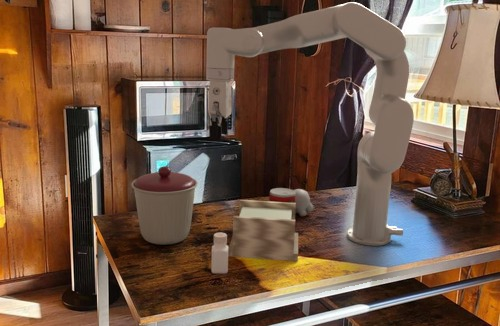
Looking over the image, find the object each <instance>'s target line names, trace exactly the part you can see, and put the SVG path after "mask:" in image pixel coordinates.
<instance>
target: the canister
mask: <svg viewBox="0 0 500 326" xmlns="http://www.w3.org/2000/svg"><path fill="white" fill-rule="evenodd" d="M198 184H199V183H198V181H197V180H196V179H194V178H193V177H192V176H190V175H188V174H185V173H181V172H175V171H174V172H173V171H172V169H171V168H170V167H169V166H166V165H163V166H161V167H159V168H158V171H157V172H151V173H146V174H143V175H141V176H139V177H137V178H136V179H134V180H133V181H132V182H131V184H130V185H131V187H132V189H133V190H134V196H135V197H134V198H135V202H136V203H135V205H136V210H137V211H136V212H137V217H138V224H139V230H140V231H139V232H140V233H141V236H142V238H143V239H144V241H146V242H148V243H150V244H155V245H161V246H162V245H163V246H164V245H166V246H167V245H173V244H174V245H175V244H177V243H181V242H182V241H184V240H185V239H186V238H187V237H188V236H189V233H190V230H191V226H192V217H193V211H194V210H193V209H194V201H195V192H196V188H197V187H198Z"/></svg>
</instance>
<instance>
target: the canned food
mask: <svg viewBox="0 0 500 326" xmlns="http://www.w3.org/2000/svg"><path fill="white" fill-rule="evenodd" d="M294 190H295V189H292V188H286V187H285V188H284V187H276V188H272V189H270V191H269V200H268V201H271V202H287V203H295V198H296V194H295V193H296V192H295V191H294Z"/></svg>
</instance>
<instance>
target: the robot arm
mask: <svg viewBox="0 0 500 326" xmlns="http://www.w3.org/2000/svg"><path fill="white" fill-rule="evenodd" d="M346 38H347V39H349V40H351V41H353V42H354V43H356V44H357V45H359V46H360V47H362V48H363V49H364V51H365V53H366V54H367V55H368V56H369V57H370V58H371V59H372V60H373V61H374V64H375V67H376V76H375V83H374V89H373V92H372V96H371V102H370V105H369V110H368V116H369V120H370V122H372V124H374V126H375V127H374V130H373V131H369V132H367V133H366V134H364V135H363V136H362V137H361V139H360V141H359V142H358V146H357V172H356V173H357V176H356V189H355V198H354V199H355V200H354V209H353V210H354V212H353V223H352V227H350V228H349V229H348V230H347V231H346V237H347V238H348V239H349V240H350V241H352V242H354V243H356V244H360V245H365V246H372V247H377V246H378V247H379V246H385V245H388V244H389V243H391V238H392V237H391V236H394V235H395V236H401V237H402V236H403V234H404V230H403V228H398V227H397V226H391V225H390V226H389V224H388V214H389V208H390V207H389V205H390V196H391V195H390V193H391V188H392V187H391V186H392V173H394V172H396V171H397V170H399V168H401V166H402V165H403V163H404V161H405V158H406V155H407V150H408V147H409V145H410V144H409V142H410V139H411V135H412V131H413V125H414V118H415V116H414V111H413V108H412V105H411V104H410V103H409V102H408V101H407V100H406V96H407V95H406V94H407V90H408V83H409V79H410V65H409V60H408V56H407V54H406V52H405V49H406V46H407V39H406V36H405V34H404V32H403V31H402V29H400V27H397V26H396V25H395V24H393V23H392V22H390V21H389V20H387V19H385V18H383V17H382V16H380V15H378V14H377V13H376V12H374V11H372V10H370V9H369V8H367V7H365V6H364V5H363V4H361V3H359V2H353V1H350V2H346V3H343V4H338V5H335V6H330V7H327V8H326V7H325V8H321V9H318V10H313V11H308V12H304V13H300V14H295V15H293V16H290V17H288V18H285V19H283V20H279V21H275V22H272V23H268V24H267V23H266V24H264V25H257V26H255V27H246V28H245V27H244V28H234V29H233V28H230V27H210V28H208V30H207V32H206V72H205V73H206V76H205V78H206V79H205V80H206V81H209V87H208V89H209V90H208V115H209V117H210V118H209V119H210V120H209V131H208V132H209V135H208V137H209V141H212V142H215V141H217V142H221V141H222V135H226V136H227V134H228V129H229V128H228V127H229V126H228V124H229V121H228V119H229V118H228V117H229V116H230V115H232V104H233V103H232V82H234V81H235V56H240V57H245V58H254V57H256V56H258V55H262V54H267V53H269V52H274V51H278V50H286V49H300V48H306V47H309V46H314V45H319V44H323V43H328V42H332V41H336V40H340V39H341V40H342V39H346Z"/></svg>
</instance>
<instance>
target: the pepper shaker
mask: <svg viewBox="0 0 500 326" xmlns="http://www.w3.org/2000/svg"><path fill="white" fill-rule="evenodd" d="M227 242H228V235H227V233H225V232H221V231H220V232H216V233H214V234H213V245H212V246H211V269H210V270H211V273H212V274H224V275H225V274H227V273H228V272H229V256H228V248H229V245H228V244H227Z"/></svg>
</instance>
